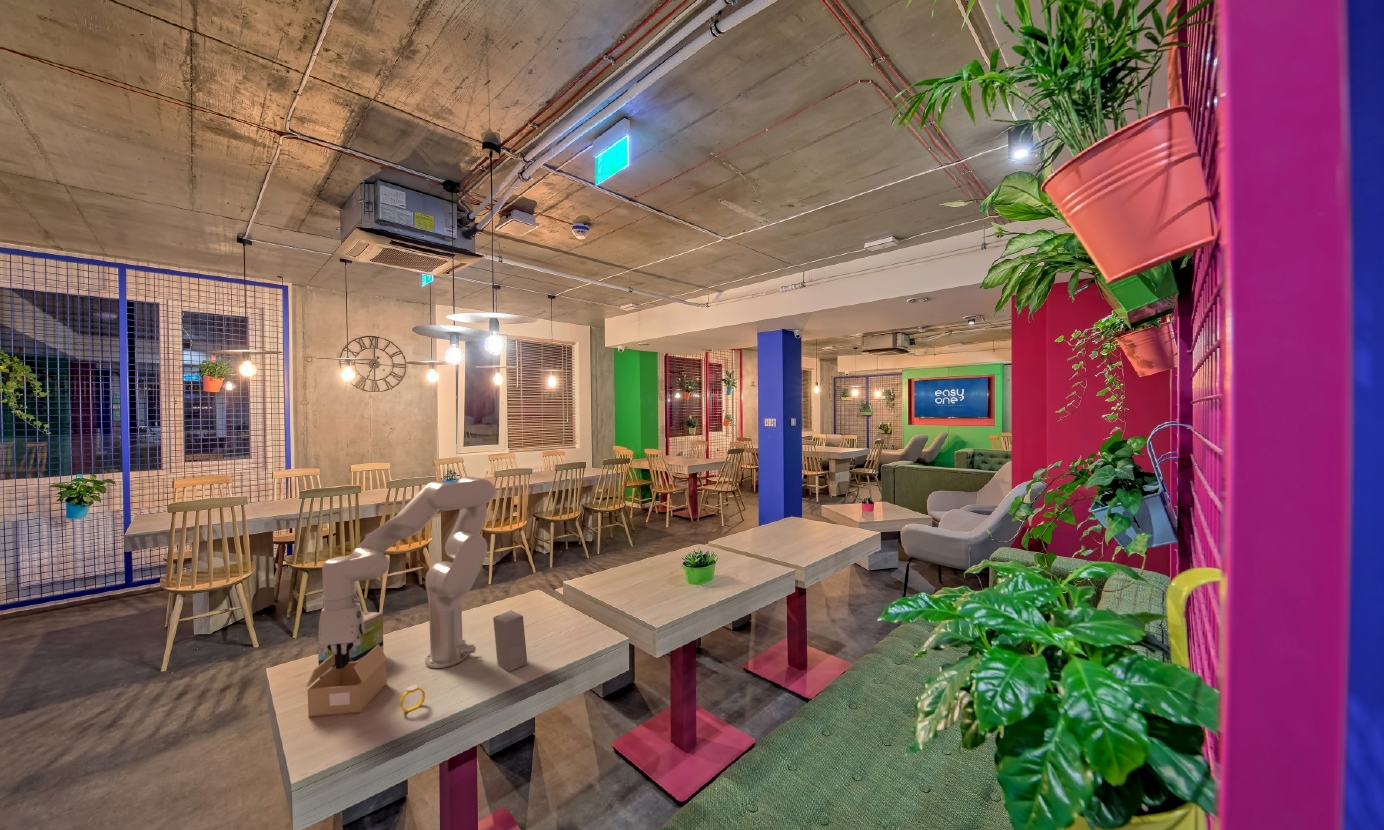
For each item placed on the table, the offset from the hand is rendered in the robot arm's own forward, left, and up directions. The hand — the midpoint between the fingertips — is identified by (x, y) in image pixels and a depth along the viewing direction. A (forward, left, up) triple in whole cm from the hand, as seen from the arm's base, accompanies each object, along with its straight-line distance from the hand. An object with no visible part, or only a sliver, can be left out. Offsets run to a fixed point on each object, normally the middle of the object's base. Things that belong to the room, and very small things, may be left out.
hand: (342, 666), depth 139 cm
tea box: (+8, -20, -10) cm, 24 cm away
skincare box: (-43, -13, -10) cm, 46 cm away
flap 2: (-7, 0, 0) cm, 7 cm away
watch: (-22, +7, -10) cm, 25 cm away
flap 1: (+4, 0, 0) cm, 4 cm away
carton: (-2, 0, -10) cm, 10 cm away
